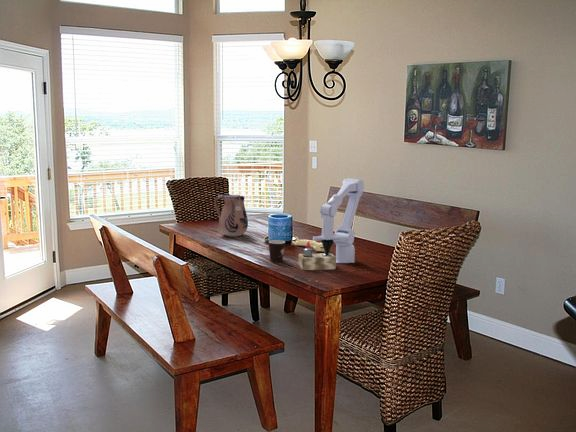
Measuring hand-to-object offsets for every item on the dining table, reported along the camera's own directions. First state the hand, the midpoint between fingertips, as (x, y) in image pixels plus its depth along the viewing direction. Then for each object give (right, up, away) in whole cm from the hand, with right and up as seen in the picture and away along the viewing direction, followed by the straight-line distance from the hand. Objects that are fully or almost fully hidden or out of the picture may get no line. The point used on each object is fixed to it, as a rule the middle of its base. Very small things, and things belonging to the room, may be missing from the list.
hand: (326, 254), depth 296 cm
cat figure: (-7, 0, +40) cm, 41 cm away
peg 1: (-9, -3, -1) cm, 10 cm away
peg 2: (0, -6, +1) cm, 6 cm away
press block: (-5, -6, 0) cm, 8 cm away
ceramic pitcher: (-55, +7, +70) cm, 89 cm away
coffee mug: (-24, -4, +12) cm, 27 cm away
